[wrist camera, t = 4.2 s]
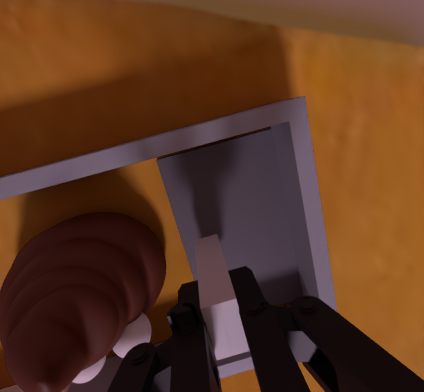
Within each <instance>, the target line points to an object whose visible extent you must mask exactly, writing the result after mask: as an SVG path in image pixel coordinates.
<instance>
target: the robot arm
mask: <svg viewBox="0 0 424 392" xmlns="http://www.w3.org/2000/svg"><path fill="white" fill-rule="evenodd" d="M194 244H195V255H196V266H197V277H198V280H196V281H192V282H189V283H185V284H182V285H181V287H180V289H179V291H178V304H176V305H175V306H173V307H172V308H171V309H170V311H169V312H168V314H167V319H168V321H169V324H170V327H171V330H172V332H173V335H172V336H171V337H170V338H169V339H168V340H167V341H165V342H164V343H162V344H160V345H158V346H157V347H155V346H154V345H153V344H152V343H148V342H144V343H140V344H138V345H136V346H134V347H133V348H132V349H130V350H129V351H128V352H127V354H126V355H125V357H124V358H123V360H122V362H121V364H120V366H119V368H118V370H117V372H116V374H115V376H114V378H113V380H112V382H111V384H110V386H109V388H108V391H107V392H222V390H221V383H220V376H219V370H218V367H217V364H216V360H220V359H224V358H227V357H230V356H234V355H237V354H241V353H244V352H248V351H250V355H251V358H252V362H253V366H254V369H255V373H256V376H257V380H258V383H259V387H260V390H261V392H310V389H309V387H308V385H307V383H306V381H305V379H304V377H303V374H302V372H301V370H300V368H299V366H298V364H297V362H302V363H303V365H304V367H305V368H306V369H307V370H308V371H309V373H310V374H311V375H312V376H313V377H314V379H315V380H316V381H317V382H318V384H319V385H320V386H321V387H322V388H323V390H324V391H325V392H424V380H422V379H421V378H420V377H419V376H417V375H416V374H415V373H414V372H412V371H411V370H410V369H408V368H407V367H406V366H405V365H403V364H402V363H401V362H400V361H398V360H397V359H396V358H395V357H393V356H392V355H391V354H389V353H388V352H387V351H386V350H384V349H383V348H382V347H381V346H379V345H378V344H377V343H375V342H374V341H373V340H372V339H370V338H369V337H368V336H367V335H365V334H364V333H363V332H361V331H360V330H359V329H358V328H356V327H355V326H354V325H353V324H351V323H350V322H349V321H347V320H346V319H345V318H344V317H342V316H341V315H340V314H339V313H337V312H336V311H335V310H334V309H332V308H331V307H330V306H328V305H327V304H326V303H325V302H323V301H322V300H321V299H319V298H317V297H314V296H301V297H298V298H296V299H295V300H293V301H292V303H291V305H290V307H277V306H273V305H271V304H269V303H268V302H267V301H266V300H265V298H264V296H263V294H262V291H261V289H260V287H259V285H258V283H257V281H256V278H255V276H254V274H253V272H252V270H251V269H250V268H248V267H247V266H243V267H239V268H236V269H232V270H229V271H228V269H227V266H226V262H225V259H224V256H223V252H222V249H221V246H220V242H219V239H218V235H217V234H215V235H211V236H208V237H204V238H201V239H197V240H194ZM215 356H216V359H215Z"/></svg>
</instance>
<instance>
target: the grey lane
mask: <svg viewBox="0 0 424 392" xmlns="http://www.w3.org/2000/svg"><path fill="white" fill-rule="evenodd" d="M269 126H270V129H268V130H264V131H260V132H257V133H253V134H249V135H246V136H242V137H238V138H235V139H231V140H227V141H224V142H220V143H216V144H213V145H209V146H205V147H202V148H198V149H195V150H191V151H187V152H184V153H180V154H176V155H173V156H169V157H165V158H162V159H158V160H156V161H157V164H158V167H159V170H160V173H161V176H162V179H163V182H164V186H165V189H166V192H167V195H168V198H169V201H170V204H171V208H172V211H173V214H174V217H175V220H176V223H177V226H178V229H179V233H180V236H181V239H182V242H183V245H184V248H185V251H186V255H187V258H188V261H189V264H190V267H191V270H192V273H193V276H194V280H195V281H196V280H198V277H197V266H196V255H195V244H194V240H197V239H201V238H204V237H208V236H211V235H215V234H217V235H218V239H219V242H220V246H221V249H222V252H223V256H224V259H225V262H226V266H227V269H228V271H229V270H232V269H236V268H239V267H243V266H247V267H248V268H250V269H251V270H252V272H253V274H254V276H255V278H256V281H257V283H258V285H259V287H260V289H261V291H262V294H263V296H264V298H265V300H266V301H267V302H268V303H269V304H271V305H273V306H279V305H283V304H286V303H290V302H292V301H293V300H295V299H296V298H298V297H301V296H314V297H317V298H319V299H321V300H322V301H323V302H325V303H326V304H327V305H328V306H330V307H331V308H332V309H334V310H335V311H336V312H337V307H336V300H335V294H334V287H333V280H332V274H331V267H330V260H329V254H328V247H327V240H326V234H325V227H324V220H323V214H322V207H321V200H320V194H319V187H318V180H317V174H316V167H315V160H314V154H313V147H312V140H311V134H310V127H309V120H308V114H307V107H306V100H305V96H302V97H297V98H292V99H287V100H282V101H278V102H275V103H271V104H267V105H264V106H260V107H256V108H252V109H249V110H245V111H241V112H238V113H234V114H230V115H227V116H223V117H219V118H216V119H212V120H208V121H204V122H201V123H197V124H193V125H190V126H186V127H182V128H179V129H175V130H171V131H167V132H164V133H160V134H156V135H153V136H149V137H145V138H142V139H138V140H134V141H130V142H127V143H123V144H119V145H116V146H112V147H108V148H105V149H101V150H97V151H94V152H90V153H86V154H82V155H79V156H75V157H71V158H68V159H64V160H60V161H57V162H53V163H49V164H45V165H42V166H38V167H34V168H31V169H27V170H23V171H20V172H16V173H12V174H8V175H5V176H1V177H0V200H2V199H5V198H9V197H13V196H16V195H20V194H24V193H27V192H31V191H35V190H38V189H42V188H46V187H49V186H53V185H57V184H60V183H64V182H68V181H71V180H75V179H79V178H82V177H86V176H90V175H93V174H97V173H101V172H104V171H108V170H112V169H115V168H119V167H123V166H126V165H130V164H134V163H137V162H141V161H145V160H148V159H152V158H156V157H159V156H163V155H167V154H170V153H174V152H178V151H181V150H185V149H189V148H192V147H196V146H200V145H203V144H207V143H211V142H214V141H218V140H222V139H225V138H229V137H233V136H236V135H240V134H244V133H247V132H251V131H255V130H258V129H262V128H266V127H269ZM285 307H290V305H288V306H285ZM162 343H164V342H161V343H158V344H154V346H155V347H157V346H158V345H160V344H162ZM215 359H216V356H215ZM122 360H123V358H121V357H119V356H118V355H117V356H113V357H110V358H106V359H105V363H104V366H103V369H102V370H101V372H100V373H99V374H98V375H97V376H96V377H95V378H94V379H92V380H90V381H88V382H85V383H73V382H71V384H70V386H69V389H68V391H67V392H107V391H108V388H109V386H110V384H111V382H112V380H113V378H114V376H115V374H116V372H117V370H118V368H119V366H120V364H121V362H122ZM216 364H217V367H218V370H219V376H220V378H224V377H227V376H230V375H234V374H237V373H241V372H244V371H247V370H251V369H254V366H253V362H252V358H251V355H250V351H248V352H244V353H241V354H237V355H234V356H230V357H227V358H224V359H220V360H216Z"/></svg>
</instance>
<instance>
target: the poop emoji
mask: <svg viewBox="0 0 424 392" xmlns="http://www.w3.org/2000/svg"><path fill="white" fill-rule="evenodd" d="M165 275H166V259H165V255H164V251H163V249H162V246H161V244H160V242H159V241H158V239H157V238H156V236H155V235H154V234H153V233H152V232H151V231H150V230H149V229H148V228H147V227H146V226H145V225H143V224H142V223H140V222H139V221H137V220H135V219H133V218H131V217H128V216H125V215H122V214H117V213H109V212H98V213H89V214H84V215H80V216H76V217H73V218H70V219H68V220H65V221H63V222H61V223H59V224H57V225H55V226H53V227H52V228H50V229H48V230H46V231H44V232H42V233H40V234H39V235H37V236H35V237H34V238H33V239H31V240H30V241H29V242H28V243H27V244H26V245H25V246H24V247H23V248H22V249H21V251H20V252H19V253H18V255H17V256H16V258H15V260H14V262H13V264H12V267H11V268H10V270H9V272H8V274H7V276H6V278H5V280H4V282H3V285H2V287H1V291H0V340H1V344H2V346H3V348H4V359H5V364H6V367H7V370H8V372H9V374H10V375H11V377H12V379H13V380H14V382H15V383H16V384H17V385H18V386H19V388H20V389H21V390H22V391H23V392H62V391H63V390H64V389H65V388H66V387H67V386H68V385H69V384H70V383H71V382H73V383H85V382H88V381H90V380H92V379H94V378H95V377H96V376H97V375H98V374H99V373H100V372H101V370H102V369H103V366H104V363H105V359H106V355H107V354H108V353H109V352H110V351H111V350H112V349H113V351H114V352H115V353H116V354H117V355H118V356H119V357H121V358H124V357H125V355H126V354H127V352H128V351H129V350H130V349H132V348H133V347H134V346H136V345H138V344H140V343H144V342H148V343H149V342H150V338H151V324H150V321H149V319H148V318H147V316H146V314H147V313H148V311H149V310H150V309H151V307H152V306H153V305H154V303H155V301H156V300H157V298H158V296H159V294H160V292H161V290H162V287H163V284H164V280H165Z"/></svg>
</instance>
